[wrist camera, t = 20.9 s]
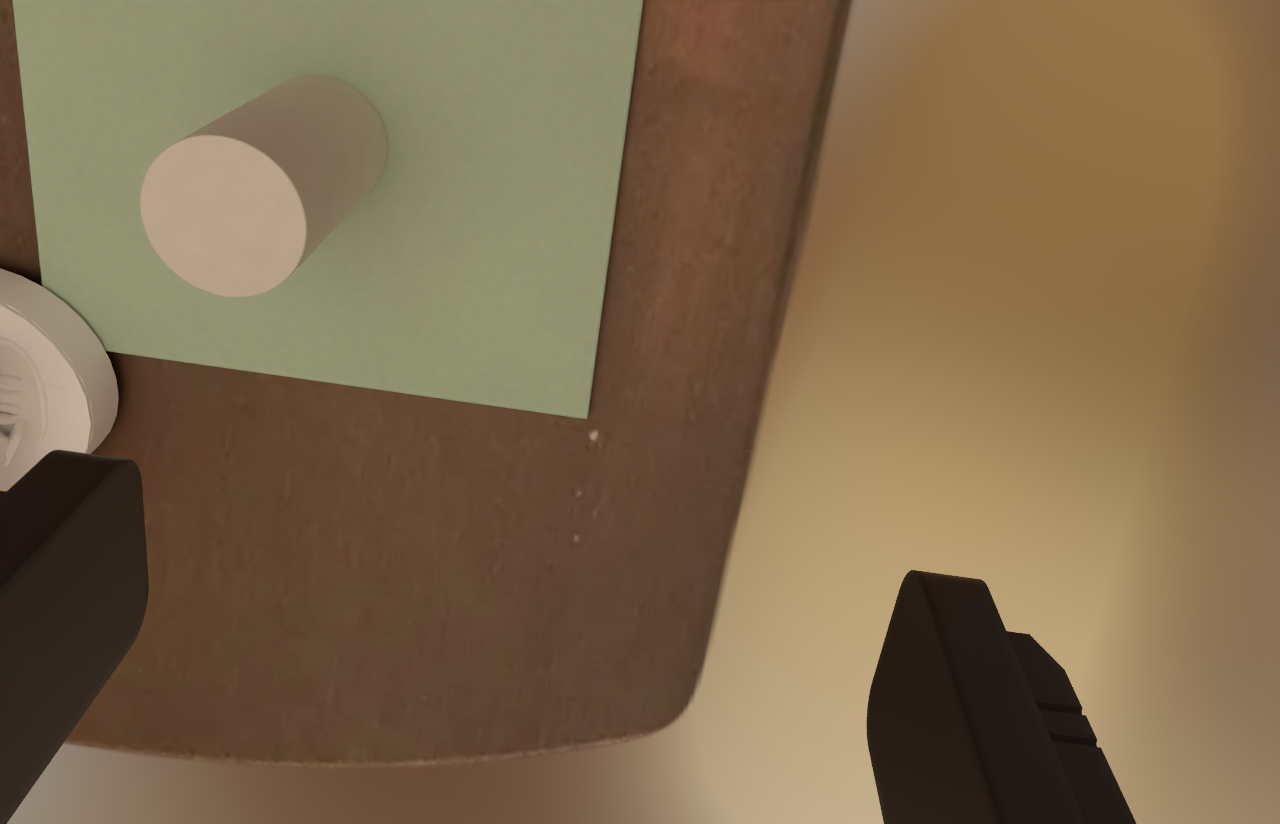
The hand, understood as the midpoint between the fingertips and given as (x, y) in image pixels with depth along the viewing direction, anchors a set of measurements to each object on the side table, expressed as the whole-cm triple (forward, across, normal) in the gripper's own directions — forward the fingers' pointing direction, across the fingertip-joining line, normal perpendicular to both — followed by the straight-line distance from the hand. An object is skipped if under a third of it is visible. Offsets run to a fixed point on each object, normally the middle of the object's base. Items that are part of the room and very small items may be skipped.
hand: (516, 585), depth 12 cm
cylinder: (+28, +10, +3) cm, 29 cm away
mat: (+28, +10, +4) cm, 30 cm away
